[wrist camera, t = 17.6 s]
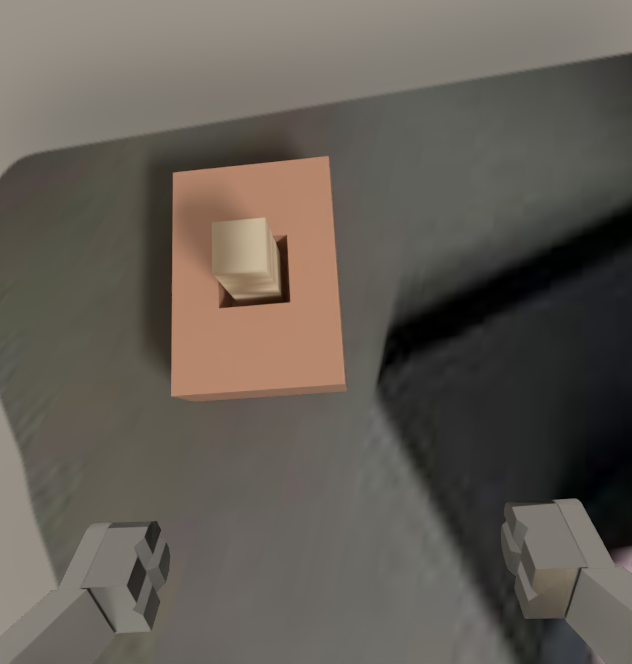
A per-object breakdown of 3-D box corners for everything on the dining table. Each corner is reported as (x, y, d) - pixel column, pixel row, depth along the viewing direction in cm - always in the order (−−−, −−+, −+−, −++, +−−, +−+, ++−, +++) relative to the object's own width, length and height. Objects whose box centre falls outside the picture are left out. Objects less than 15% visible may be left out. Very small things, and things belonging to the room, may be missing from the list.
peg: (285, 265, 45) (264, 217, 36) (287, 306, 45) (266, 268, 35) (243, 269, 46) (211, 222, 36) (244, 310, 45) (212, 273, 35)
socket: (332, 188, 48) (328, 156, 42) (347, 391, 43) (345, 384, 38) (193, 202, 49) (172, 172, 44) (194, 401, 44) (171, 396, 39)
